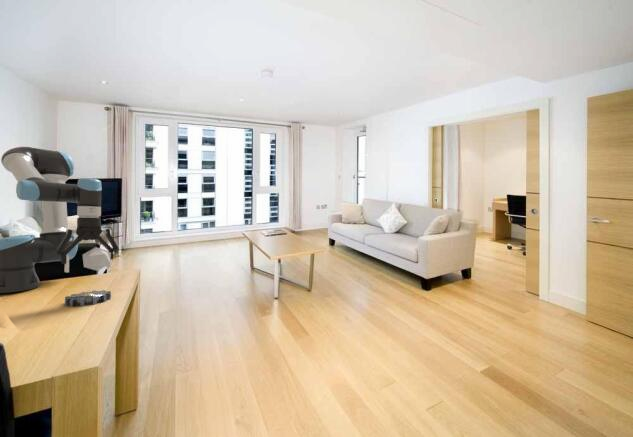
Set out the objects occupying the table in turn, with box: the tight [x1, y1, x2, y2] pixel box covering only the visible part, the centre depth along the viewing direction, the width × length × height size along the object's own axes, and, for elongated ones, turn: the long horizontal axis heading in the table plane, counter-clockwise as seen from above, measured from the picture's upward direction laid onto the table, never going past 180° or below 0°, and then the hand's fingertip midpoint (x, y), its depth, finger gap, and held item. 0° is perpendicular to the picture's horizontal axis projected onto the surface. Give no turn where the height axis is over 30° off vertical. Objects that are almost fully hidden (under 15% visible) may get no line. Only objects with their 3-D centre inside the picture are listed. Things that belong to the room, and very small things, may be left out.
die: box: [82, 246, 110, 272], centre depth 116 cm, size 8×9×10 cm
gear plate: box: [64, 289, 112, 307], centre depth 114 cm, size 15×15×2 cm
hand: (88, 269), depth 115 cm, fingers open, 13 cm apart
